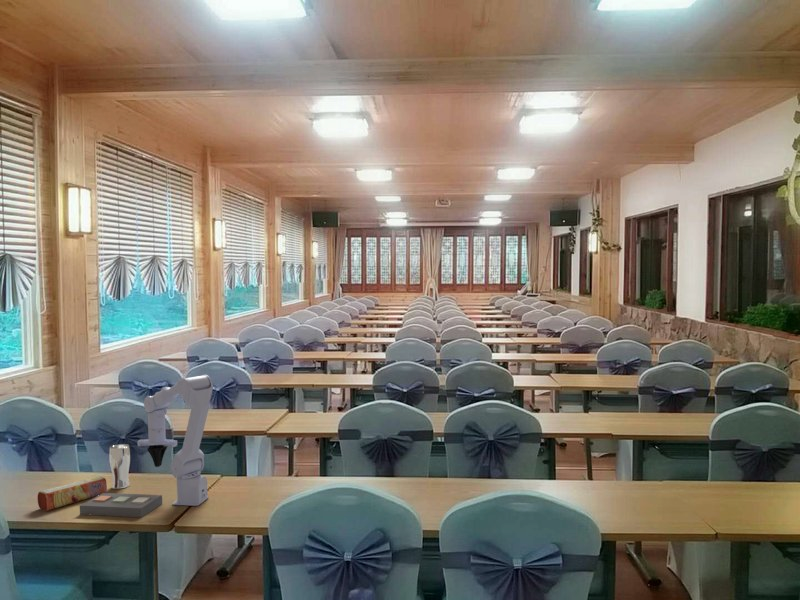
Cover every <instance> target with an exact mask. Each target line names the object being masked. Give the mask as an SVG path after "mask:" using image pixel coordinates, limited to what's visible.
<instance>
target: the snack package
mask: <svg viewBox="0 0 800 600" xmlns="http://www.w3.org/2000/svg"><path fill="white" fill-rule="evenodd" d="M102 493H107V478H105V477H104V476H98V475H97V476H93V477H90V478H86V479H82V480H78V481H74V482H69V483H67V484H63V485H60V486H56V487H51V488H47V489H44V490H43V489H42V490H40V491H39V492H38V493H37V505H38V507H39V509H40V510H41V511H43V512H49V511H52V510H55V509H57V508H62V507H65V506H68V505H71V504H74V503H77V502H81V501H84V500H88V499H91V497H92V498H95V497H97V496H98V495H101V494H102Z"/></svg>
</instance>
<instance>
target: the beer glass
mask: <svg viewBox="0 0 800 600" xmlns="http://www.w3.org/2000/svg"><path fill="white" fill-rule="evenodd" d="M130 451H131V450H130V445H129V444H126V443H123V444H122V443H120V444H115V445H112V446H109V455H108V457H109V459H108V460H109V466H110V471H111V475H112V482H111V489H113V490H122V488H123V489H125V488H128V487H129V486H130V485H131V483H130V480H129V478H130V477H129V472H130V471H129V470H130V466H131V452H130Z"/></svg>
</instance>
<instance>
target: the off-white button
mask: <svg viewBox="0 0 800 600" xmlns="http://www.w3.org/2000/svg"><path fill="white" fill-rule="evenodd" d="M148 500H150V498H147V497H138V498H137V499H135V500H133V501H132V503H135V504H144V503H145V502H147V501H148Z"/></svg>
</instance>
